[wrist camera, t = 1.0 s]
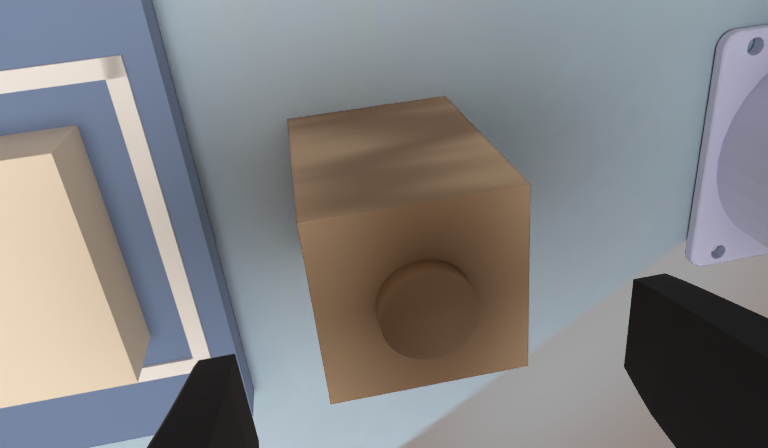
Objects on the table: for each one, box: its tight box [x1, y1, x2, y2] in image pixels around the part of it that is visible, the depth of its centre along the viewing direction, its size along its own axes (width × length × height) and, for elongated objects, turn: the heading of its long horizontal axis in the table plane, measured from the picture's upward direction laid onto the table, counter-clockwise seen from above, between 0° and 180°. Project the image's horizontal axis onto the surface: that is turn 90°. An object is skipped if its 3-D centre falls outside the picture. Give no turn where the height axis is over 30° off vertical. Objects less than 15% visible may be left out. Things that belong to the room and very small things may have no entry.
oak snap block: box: [287, 96, 530, 404], centre depth 15 cm, size 4×4×7 cm
